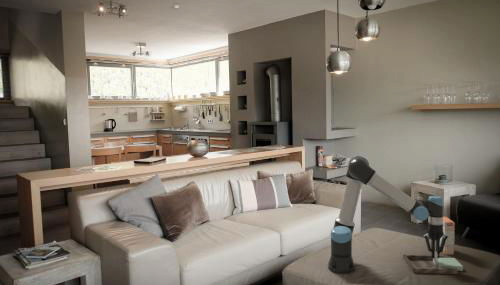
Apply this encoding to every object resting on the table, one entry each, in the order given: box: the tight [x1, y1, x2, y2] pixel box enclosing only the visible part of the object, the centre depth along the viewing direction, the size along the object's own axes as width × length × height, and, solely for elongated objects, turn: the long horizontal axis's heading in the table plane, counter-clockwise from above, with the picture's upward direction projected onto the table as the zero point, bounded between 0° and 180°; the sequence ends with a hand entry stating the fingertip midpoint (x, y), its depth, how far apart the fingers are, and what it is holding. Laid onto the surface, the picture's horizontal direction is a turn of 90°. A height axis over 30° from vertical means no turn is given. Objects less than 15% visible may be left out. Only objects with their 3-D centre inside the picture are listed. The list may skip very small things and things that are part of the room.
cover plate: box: [435, 257, 464, 272], centre depth 222 cm, size 12×12×2 cm
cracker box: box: [440, 215, 456, 256], centre depth 245 cm, size 14×6×21 cm, turn 172°
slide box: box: [402, 254, 459, 275], centre depth 224 cm, size 23×20×3 cm
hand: (435, 263), depth 223 cm, fingers closed
